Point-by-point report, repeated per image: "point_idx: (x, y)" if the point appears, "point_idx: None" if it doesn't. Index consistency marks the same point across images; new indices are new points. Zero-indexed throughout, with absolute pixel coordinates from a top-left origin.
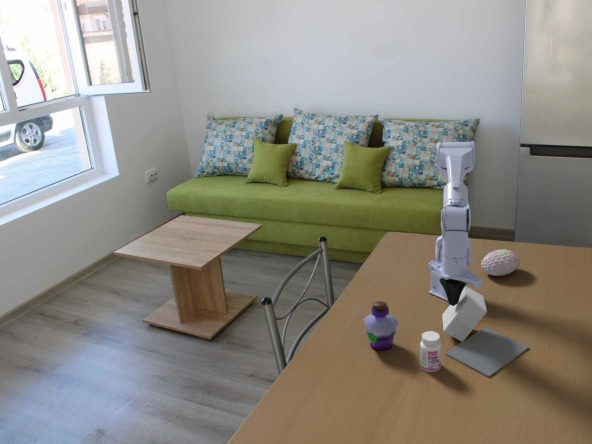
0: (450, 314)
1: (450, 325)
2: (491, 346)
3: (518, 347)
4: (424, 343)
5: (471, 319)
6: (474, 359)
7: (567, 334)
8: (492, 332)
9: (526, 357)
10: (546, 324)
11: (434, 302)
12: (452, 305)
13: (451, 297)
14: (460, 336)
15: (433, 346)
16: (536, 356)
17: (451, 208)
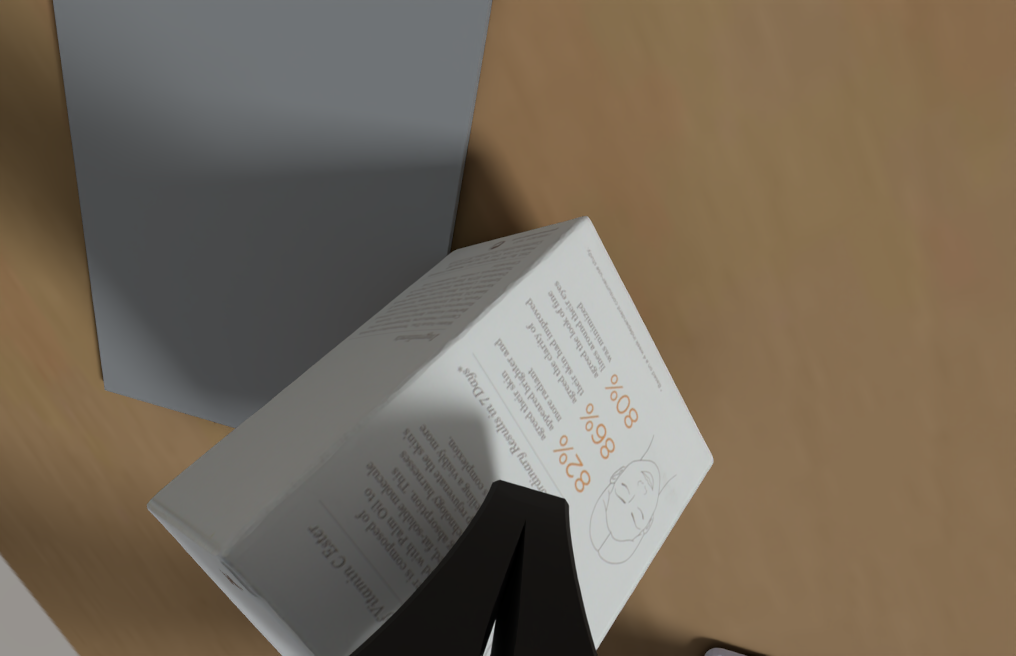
0: (570, 418)
1: (512, 269)
2: (259, 289)
3: (137, 356)
4: None
5: (308, 390)
6: (250, 55)
7: (74, 562)
8: None
9: (62, 289)
10: (188, 606)
11: (871, 630)
12: (504, 484)
13: (474, 577)
14: (456, 261)
15: None
16: (36, 325)
17: None
